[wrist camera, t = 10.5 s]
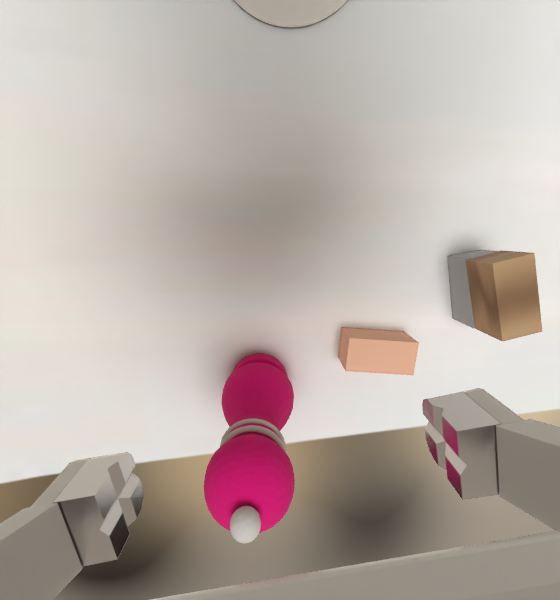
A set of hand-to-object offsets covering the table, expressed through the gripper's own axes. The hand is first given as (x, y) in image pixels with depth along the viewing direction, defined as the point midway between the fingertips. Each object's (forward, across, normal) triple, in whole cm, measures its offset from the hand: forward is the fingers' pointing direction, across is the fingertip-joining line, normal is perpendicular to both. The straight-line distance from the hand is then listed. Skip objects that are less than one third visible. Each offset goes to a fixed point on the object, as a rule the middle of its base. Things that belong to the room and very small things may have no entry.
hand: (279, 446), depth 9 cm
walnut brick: (+23, -20, +4) cm, 31 cm away
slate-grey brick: (+27, -20, +4) cm, 34 cm away
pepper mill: (+27, +4, +10) cm, 29 cm away
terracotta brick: (+27, -9, +9) cm, 30 cm away
